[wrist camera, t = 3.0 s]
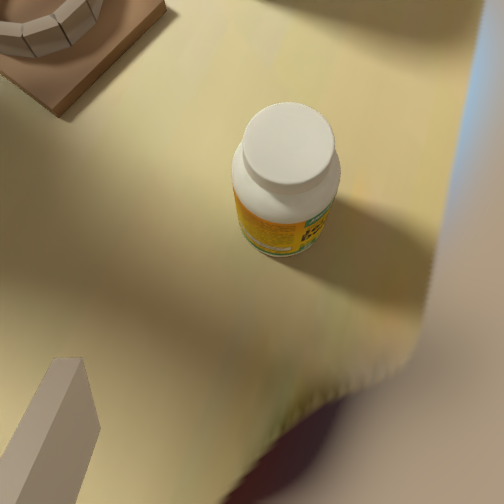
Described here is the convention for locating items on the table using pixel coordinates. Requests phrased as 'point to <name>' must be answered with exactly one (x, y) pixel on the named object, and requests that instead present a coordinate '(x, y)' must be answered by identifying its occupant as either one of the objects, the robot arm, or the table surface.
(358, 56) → the table surface
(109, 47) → the socket board
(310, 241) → the supplement bottle
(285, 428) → the table surface
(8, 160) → the table surface
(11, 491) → the robot arm
